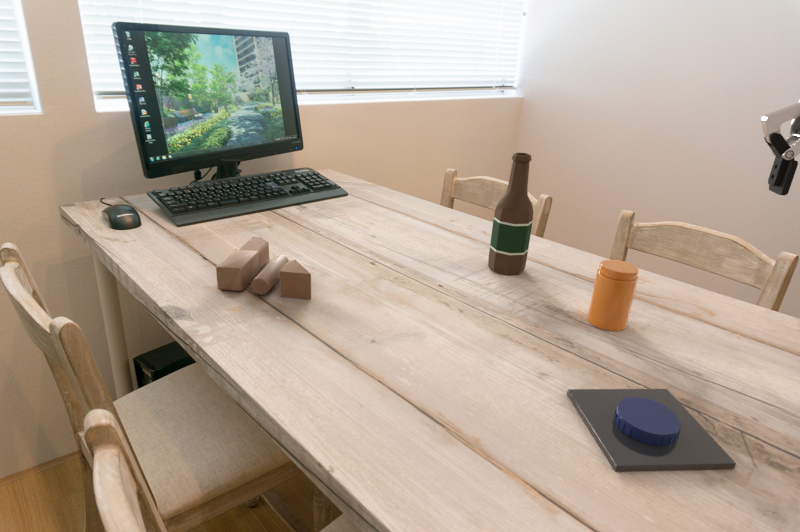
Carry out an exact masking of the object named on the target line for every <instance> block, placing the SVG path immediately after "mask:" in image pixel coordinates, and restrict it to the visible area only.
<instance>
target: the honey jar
mask: <svg viewBox="0 0 800 532" xmlns="http://www.w3.org/2000/svg"><path fill="white" fill-rule="evenodd" d="M598 267H599V268H597V270H596V274H595V278H594V283H593V287H592V293H591V297H590V303H589V307H588V310H587V311H588V312H587V316H586V320H587V321H588V323H589V324H590V325H592V326H594V327H595V328H598V329H601V330H604V331H610V332H620V331H623V330H625V329H626V328H627V325H628V321H629V317H630V313H631V309H632V306H633V301H634V296H635V294H636V289H637V285H638V280H639V277H638V275H639V268H638V267H637V266H636V265H635V264H632V263H631V262H627V261H623V260H620V259H619V260H618V259H605V260H601V261H600V262H599V266H598Z"/></svg>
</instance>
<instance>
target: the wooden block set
mask: <svg viewBox="0 0 800 532" xmlns="http://www.w3.org/2000/svg"><path fill="white" fill-rule="evenodd" d="M269 260H270V243H269V242H268V240H266V239H264V238H263V237H262V236H261V237H259V236H252V237H251V238H250V239H249V240H248V241H246V242H245V244H243V245H242V246H241V247H240V248H237V249H235V250H234V251H232V252H231V253H230V254H229V255H227V256H226V257H225V258H224V259H223V260H222V261H220V262H219V263H218V264H217V265H216V267H215V270H216V271H215V272H216V282H217V290H220V291H221V290H222V291H230V292H231V291H232V292H243V291H244V290H245V289H246V288H247V287H248V285H250V289H251V291H253V293H254V294H257V295H261V296H262V295H266V294H267V293H268V292H269V291H270V290H271V288H272V287H273V286H274V285H275V284H276V283H277V281H278V280H279V294H280V297H284V298H293V299H294V298H295V299H305V300H306V299H307V300H312V274H311V272H309V271H308V270H307V269H306V268H305V267H304V266H303V265H302V264H301V263H300V262H299V261H297V260H296V259H291V260H289V258H288V257H287V256H286V255H285V254H280V253H279V254H276V255H274V256H273V257H272V259H271V260H270V261H269ZM267 262H268V263H267ZM266 263H267V264H266ZM265 264H266V265H265Z"/></svg>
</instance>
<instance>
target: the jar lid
mask: <svg viewBox="0 0 800 532" xmlns="http://www.w3.org/2000/svg"><path fill="white" fill-rule="evenodd" d="M614 416H615V422H616V424H617V426H618V427H619V428H620V429H621V430H622V431H623V432H624V433H625V434H627V435H628V436H630V437H631V438H633V439H635V440H637V441H640V442H643V443H646V444H650V445H656V446H665V445H670V444H672V443H674V442H675V441H676V439H678V436H679V433H680V428H681V422H680V420H679V418H678V416H677V415H676V414H675V413H674V412H673V411H672V410H670V409H669V408H667V407H666V406H664V405H662V404H660V403H658V402H656V401H653V400H650V399H646V398H640V397H629V398H625V399H623V400H621V401H620V402H619V403H618V405H617V408H616V410H615V414H614Z"/></svg>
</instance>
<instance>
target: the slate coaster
mask: <svg viewBox="0 0 800 532" xmlns="http://www.w3.org/2000/svg"><path fill="white" fill-rule="evenodd" d="M566 390H567V391H566V396H568V398H569V400H570V402H571V403H572V405H573V407H574V408H575V410H576V411H577V413H578V415H579V416H580V418H581V419H582V421H583V422H584V424H585V426H586V427H587V429H588V430H589V432H590V434H591V435H592V437H593V438H594V440H595V442H596V443H597V445H598V447H599V448H600V450H601V451H602V453H603V454H604V456H605V458H606V460H607V461H608V463H609V464H610V466H611V468H612V469H613V470H614V472H646V471H647V472H648V471H649V472H651V471H652V472H653V471H654V472H655V471H693V470H694V471H695V470H696V471H697V470H699V471H700V470H734V469H735V468H736V465H737V463H736V461H735V460H734V459H733V458H732V457H731V456H730V455H729V453H727V451H726V450H725V449H723V447H722V446H721V445H720V444H719V443H718V442H717V441H716V440H715V438H713V436H712V435H711V434H710V433H709V432H708V431H707V430H706V429H705V428H704V427H703V426H702V425H701V424H700V423H699V421H698V420H696V418H694V416H693V415H692V414H691V413H690V412H689V411H688V410H687V409H686V408H685V407H684V405H683V404H682V403H681V402H680V401H679V400H678V399H677V398H676V397H675V396H674V395H673V394H672V392H671V391H670V390H669V389H668V388H582V389H581V388H577V389H576V388H571V389H570V388H569V389H566ZM629 397H640V398H646V399H650V400H653V401H656V402H658V403H660V404H662V405H664V406H666V407H667V408H669V409H670V410H672V411H673V412H674V413H675V414H676V415H677V416H678V418H679V420H680V422H681V428H680V433H679V436H678V439H676V441H675V442H674V443H672V444H670V445H665V446H656V445H650V444H646V443H643V442H640V441H637V440H635V439H633V438H631V437H630V436H628V435H627V434H625V433H624V432H623V431H622V430H621V429H620V428H619V427H618V426H617V424H616V422H615V416H614V414H615V410H616V408H617V405H618V403H619V402H620V401H621V400H623V399H625V398H629Z"/></svg>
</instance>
